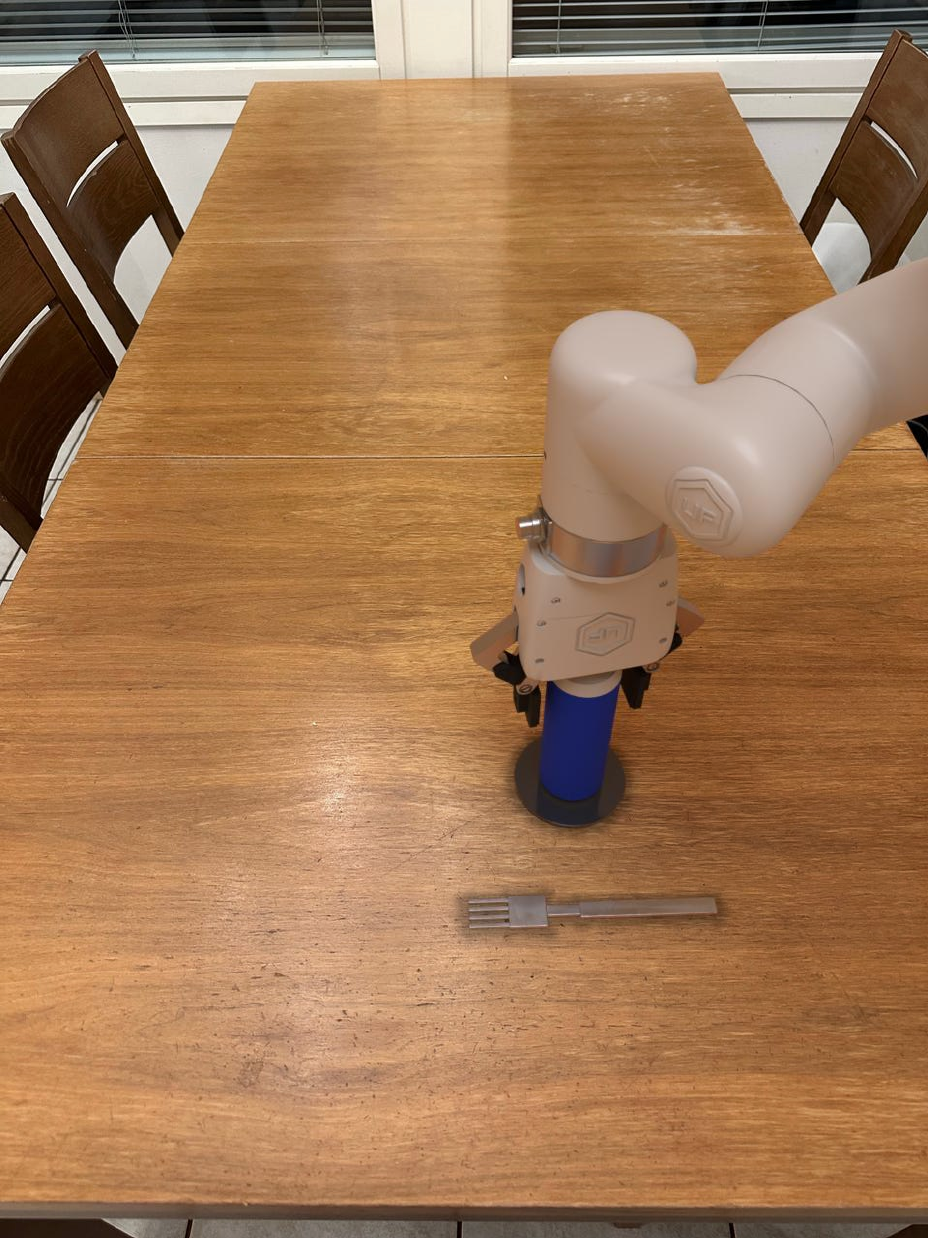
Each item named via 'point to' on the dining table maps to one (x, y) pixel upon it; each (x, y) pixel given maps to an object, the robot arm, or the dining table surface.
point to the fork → (582, 910)
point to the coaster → (566, 810)
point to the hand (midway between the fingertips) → (579, 701)
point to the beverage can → (577, 733)
